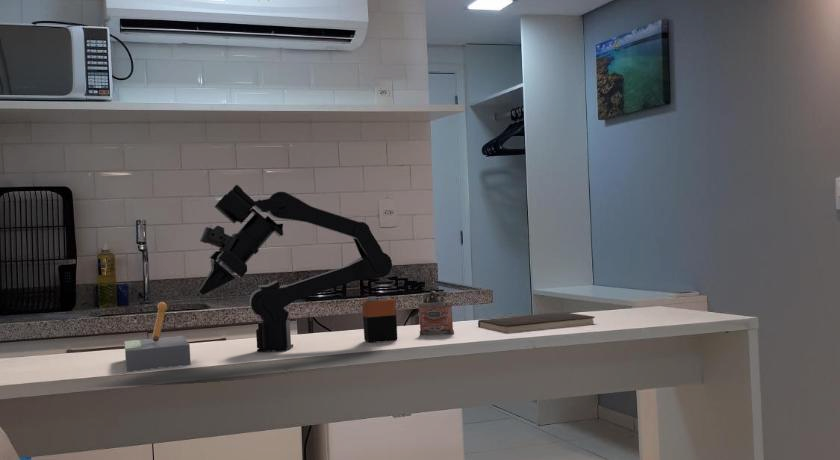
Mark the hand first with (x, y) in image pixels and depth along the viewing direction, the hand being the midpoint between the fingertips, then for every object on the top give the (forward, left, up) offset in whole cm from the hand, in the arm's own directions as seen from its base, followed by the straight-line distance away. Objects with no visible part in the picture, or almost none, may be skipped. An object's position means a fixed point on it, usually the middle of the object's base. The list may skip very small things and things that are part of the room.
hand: (200, 293), depth 170 cm
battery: (-36, -15, -14) cm, 41 cm away
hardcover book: (-71, -31, -14) cm, 78 cm away
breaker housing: (+8, +4, -13) cm, 17 cm away
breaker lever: (+8, +4, -8) cm, 13 cm away
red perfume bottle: (-48, -22, -14) cm, 54 cm away
